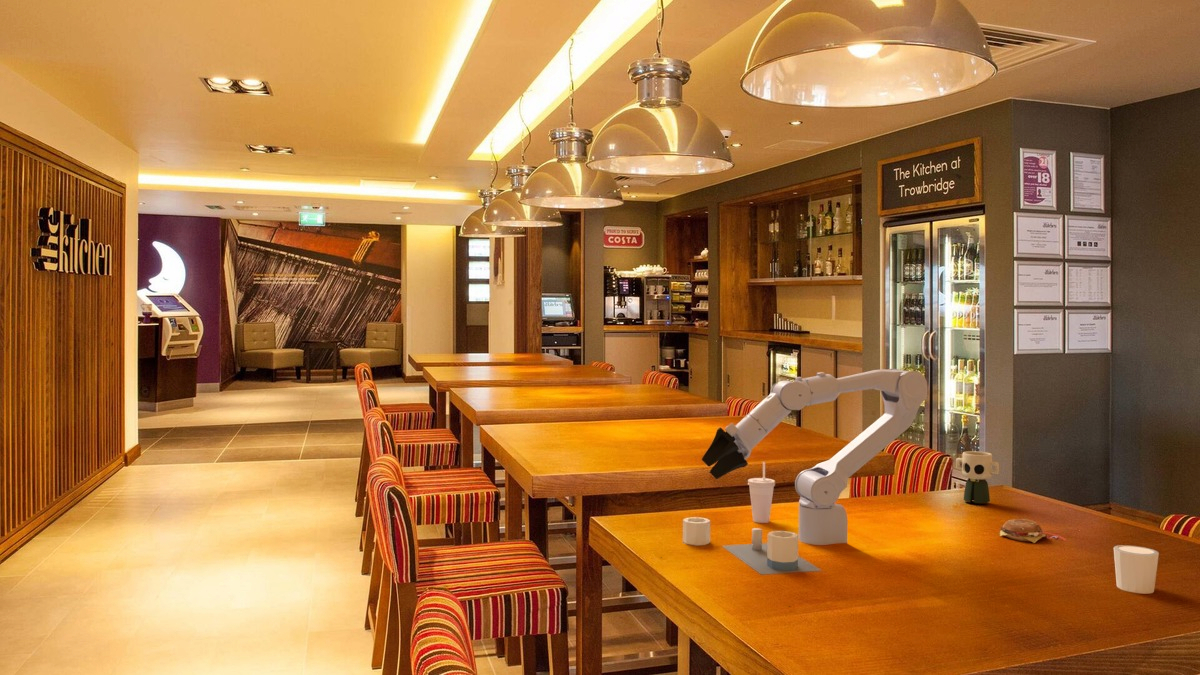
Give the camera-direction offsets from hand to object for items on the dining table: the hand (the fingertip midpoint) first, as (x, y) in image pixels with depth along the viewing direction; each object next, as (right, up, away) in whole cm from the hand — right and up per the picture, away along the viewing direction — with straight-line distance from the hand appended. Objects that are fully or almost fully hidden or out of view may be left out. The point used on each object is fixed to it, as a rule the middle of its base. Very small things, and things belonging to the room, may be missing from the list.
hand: (709, 469), depth 176 cm
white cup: (+73, -18, -23) cm, 79 cm away
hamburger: (+72, -18, +13) cm, 76 cm away
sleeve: (-2, -17, +2) cm, 17 cm away
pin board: (+10, -17, -9) cm, 22 cm away
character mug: (+76, -16, +47) cm, 91 cm away
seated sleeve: (+12, -16, -15) cm, 25 cm away
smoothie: (+16, -16, +27) cm, 35 cm away
